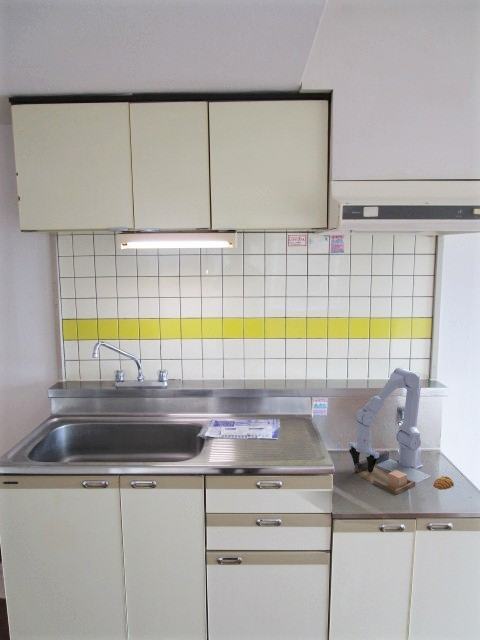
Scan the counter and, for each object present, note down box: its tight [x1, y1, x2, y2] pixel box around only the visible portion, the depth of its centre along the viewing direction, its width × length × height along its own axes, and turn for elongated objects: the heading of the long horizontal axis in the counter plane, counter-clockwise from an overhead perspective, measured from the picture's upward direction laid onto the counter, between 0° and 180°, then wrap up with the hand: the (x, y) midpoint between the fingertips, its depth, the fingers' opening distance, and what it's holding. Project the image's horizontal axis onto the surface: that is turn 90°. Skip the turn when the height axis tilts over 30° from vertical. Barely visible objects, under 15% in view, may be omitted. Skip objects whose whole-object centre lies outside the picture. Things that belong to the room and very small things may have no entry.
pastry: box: [432, 475, 455, 490], centre depth 171 cm, size 9×7×4 cm
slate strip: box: [374, 450, 432, 484], centre depth 184 cm, size 10×22×5 cm, turn 34°
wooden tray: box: [352, 459, 416, 495], centre depth 176 cm, size 12×22×5 cm, turn 34°
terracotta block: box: [387, 470, 407, 489], centre depth 170 cm, size 5×5×5 cm
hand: (363, 468), depth 184 cm, fingers open, 7 cm apart
